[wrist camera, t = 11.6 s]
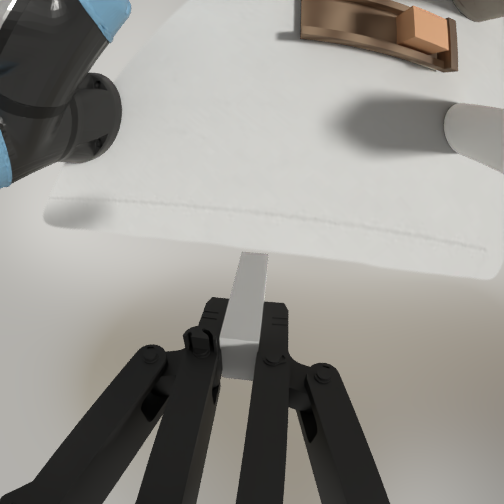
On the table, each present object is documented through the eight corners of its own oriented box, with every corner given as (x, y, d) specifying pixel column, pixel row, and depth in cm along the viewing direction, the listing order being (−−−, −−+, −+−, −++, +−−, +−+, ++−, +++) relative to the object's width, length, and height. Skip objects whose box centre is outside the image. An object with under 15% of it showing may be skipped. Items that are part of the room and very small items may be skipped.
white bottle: (471, 98, 26) (552, 113, 11) (482, 147, 30) (559, 182, 14) (434, 108, 29) (517, 123, 13) (448, 159, 32) (525, 201, 17)
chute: (300, 38, 27) (303, 29, 23) (301, -10, 23) (303, -24, 19) (440, 72, 26) (457, 71, 22) (439, 26, 22) (455, 20, 17)
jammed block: (396, 44, 25) (415, 36, 19) (396, 16, 22) (413, 5, 17) (427, 55, 24) (448, 50, 19) (426, 27, 22) (446, 19, 17)
